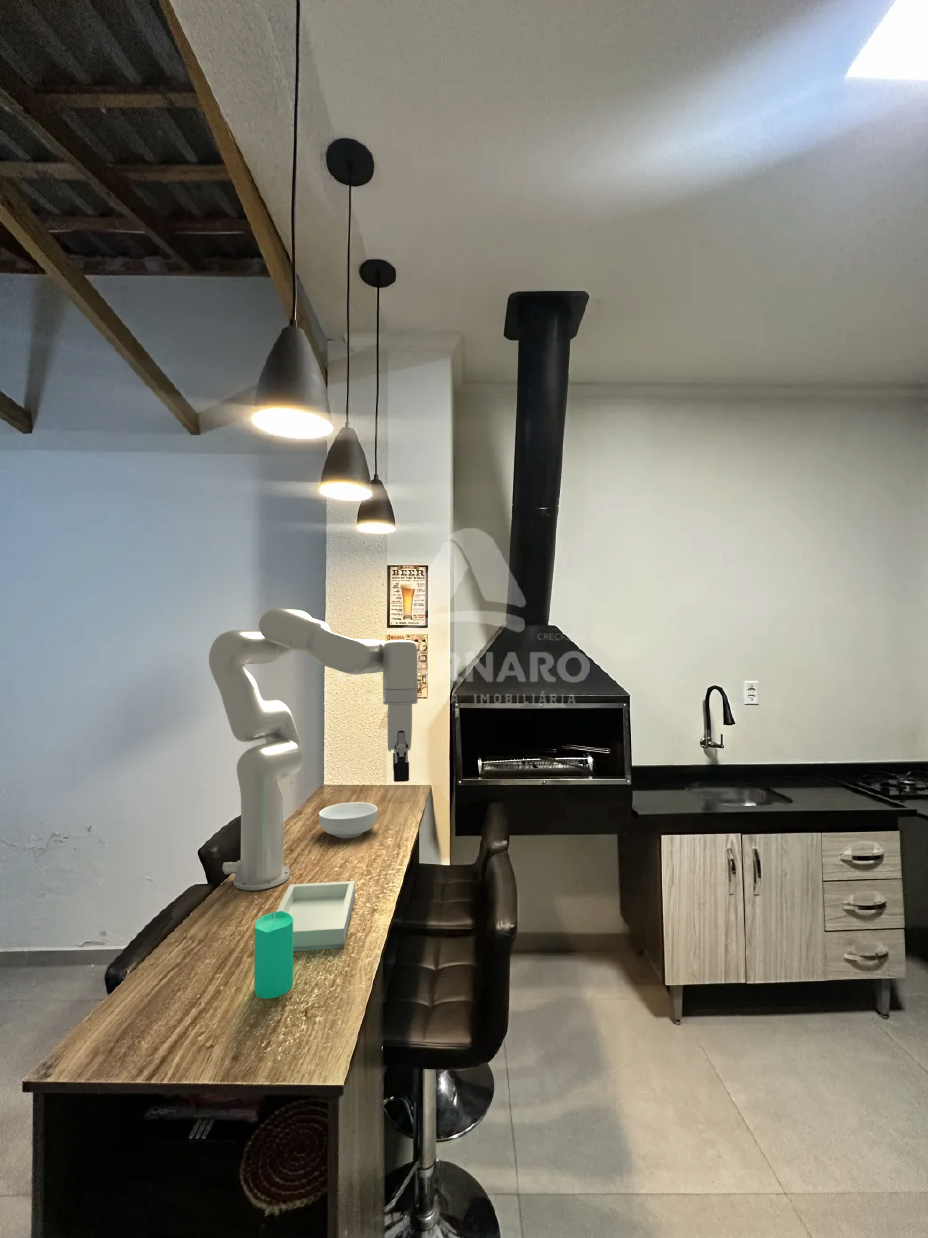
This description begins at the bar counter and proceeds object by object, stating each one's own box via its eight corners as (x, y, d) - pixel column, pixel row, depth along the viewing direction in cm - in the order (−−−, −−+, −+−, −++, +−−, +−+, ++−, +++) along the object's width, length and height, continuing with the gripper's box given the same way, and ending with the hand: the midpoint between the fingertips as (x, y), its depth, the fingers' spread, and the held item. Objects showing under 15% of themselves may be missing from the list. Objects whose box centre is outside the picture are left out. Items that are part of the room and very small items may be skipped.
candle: (263, 975, 90) (263, 902, 91) (298, 975, 90) (298, 902, 91) (247, 998, 84) (248, 920, 85) (285, 999, 84) (285, 920, 85)
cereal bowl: (373, 821, 169) (373, 799, 169) (382, 839, 153) (382, 814, 153) (317, 828, 164) (317, 804, 164) (320, 847, 148) (320, 821, 148)
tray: (265, 953, 97) (265, 933, 97) (289, 901, 117) (289, 884, 117) (343, 948, 98) (343, 928, 98) (355, 897, 118) (355, 881, 118)
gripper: (383, 693, 126) (383, 767, 125) (382, 701, 109) (383, 787, 108) (415, 692, 127) (415, 766, 126) (419, 700, 110) (420, 785, 109)
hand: (400, 775), depth 117 cm, fingers open, 9 cm apart
